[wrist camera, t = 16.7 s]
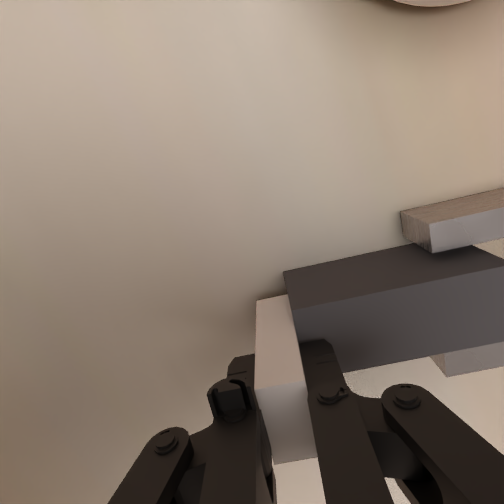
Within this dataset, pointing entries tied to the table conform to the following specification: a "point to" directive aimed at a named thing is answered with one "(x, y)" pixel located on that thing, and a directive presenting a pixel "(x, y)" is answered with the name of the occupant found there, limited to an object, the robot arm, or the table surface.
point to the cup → (431, 2)
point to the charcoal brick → (399, 304)
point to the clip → (455, 236)
